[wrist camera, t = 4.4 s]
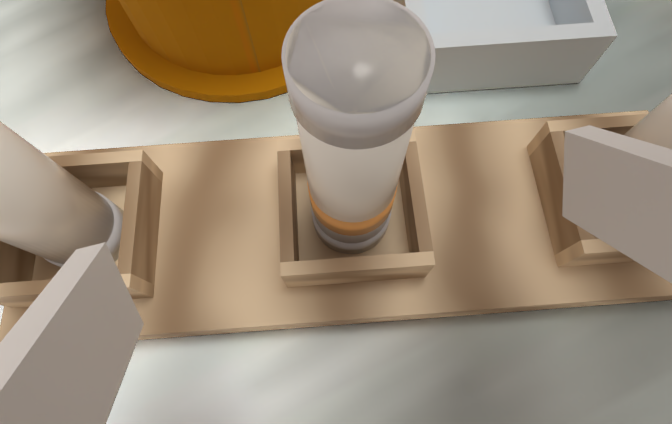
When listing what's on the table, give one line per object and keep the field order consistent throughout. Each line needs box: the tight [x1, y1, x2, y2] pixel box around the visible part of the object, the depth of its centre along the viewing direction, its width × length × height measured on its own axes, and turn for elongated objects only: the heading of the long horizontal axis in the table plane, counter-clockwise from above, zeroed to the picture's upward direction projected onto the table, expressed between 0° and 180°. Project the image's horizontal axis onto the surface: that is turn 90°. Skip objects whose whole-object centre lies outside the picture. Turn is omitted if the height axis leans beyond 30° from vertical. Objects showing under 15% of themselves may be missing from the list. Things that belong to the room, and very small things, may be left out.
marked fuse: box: [281, 0, 435, 254], centre depth 16 cm, size 4×4×12 cm
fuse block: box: [0, 110, 672, 342], centre depth 22 cm, size 34×10×4 cm, turn 94°
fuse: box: [0, 122, 123, 267], centre depth 16 cm, size 4×4×12 cm
